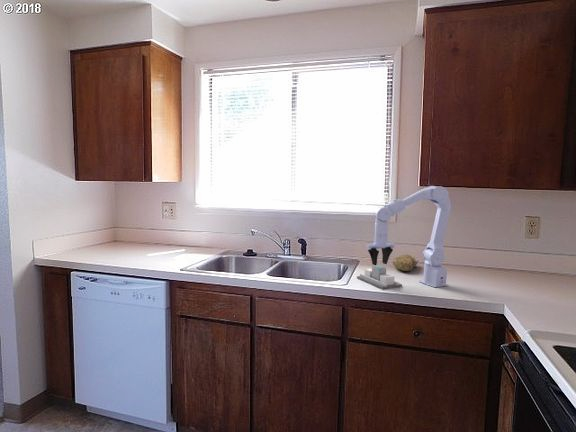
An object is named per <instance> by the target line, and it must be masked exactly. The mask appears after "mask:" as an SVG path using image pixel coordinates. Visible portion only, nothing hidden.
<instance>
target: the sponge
mask: <svg viewBox="0 0 576 432" xmlns="http://www.w3.org/2000/svg"><path fill="white" fill-rule="evenodd" d="M418 263H419V260H418V259H417V258H416V257H414V256H412V255H410V254H402V255H399V256H396V257H394V259H393V260H392V265H393V266H394V267H395V268H396V269H398V270H400V271H404V272H410V271H412V270H413V269H414V267H416V266H417V265H418Z"/></svg>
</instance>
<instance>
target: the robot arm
mask: <svg viewBox="0 0 576 432" xmlns="http://www.w3.org/2000/svg"><path fill="white" fill-rule="evenodd" d="M449 195H450V193H449V191H448V190H447V189H446V188H445V187H443V186H441V185H440V186H435V185H429V186H427V187H424V188H422V189H419V190H418V191H416V192H414V193H413V194H411V195H408V196H407V197H405V198H403V199H400V198H398V199H396V198H394V199H393V200H392V201H391V202H389V203H387V204H383V207H377V208H376V209H375V211H374V213H373V216H374V218H375V223H374V239H373V243H368V244H366V245H365V250H367V251H368V253H369V255H370V260H371V265H372V266H378V256H379V254H380V251H379V250H378V249H380V250H381V253H382V264H384V265H387V264H388V260H389V258H390V256H391V255H392V252H393V251H394V248H395V246H396V245H395V243H394V242H388V238H389V235H388V234H389V220H390V219H391V217H393V216H394V217H395V216H396V215H398V214H400V213H402V212H404V211H405V209H406V207H408V206H410V205H412V204H415V203H417V202H419V201H421V200H430V201H431V202H432V203H433V204H434V205H435V207H436V209H437V210H436V213H435V218H434V221H433V227H432V231H431V236H430V239H429V240H430V241H429V242H427V244H426V248H425V249H424V250H423V251H422V257H423V259H424V264H423V278H422V279H419V280H418V282H419V283H421V284H424V285H427V286H430V287H433V288H438V287H439V288H440V287H446V286H448V284H447V277H448V275H447V274H448V271H447V269H446V268H445V267H444V266H443V263H444V261H445V254H444V253H445V249H444V245H443V244H444V239H445V235H446V230H447V227H448V221H449V217H450V213H451V209H452V203H451V201H450V196H449Z"/></svg>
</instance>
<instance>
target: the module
mask: <svg viewBox="0 0 576 432" xmlns="http://www.w3.org/2000/svg"><path fill="white" fill-rule="evenodd" d="M371 268H372V278H373V279H375V280H378V281H380V275H385V274H387V267H385V266H382V265H372V266H371Z"/></svg>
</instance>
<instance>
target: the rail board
mask: <svg viewBox="0 0 576 432" xmlns="http://www.w3.org/2000/svg"><path fill="white" fill-rule="evenodd" d="M356 279H358V280H359V281H362V282H364V283H367V284H369V285H371V286H373V287H375V288H378V289H380V290H387V289H394V288H402V287H403V283H400V282H399V281H396V280H395V276H394V275H391V274H390V273H388V274H387V273H386V274H385V275H380V281H378V280H375V279H373V278H372V267H371V268H370V267H369V268H365V269H364V274H363V273H359V275H357V276H356Z"/></svg>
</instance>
